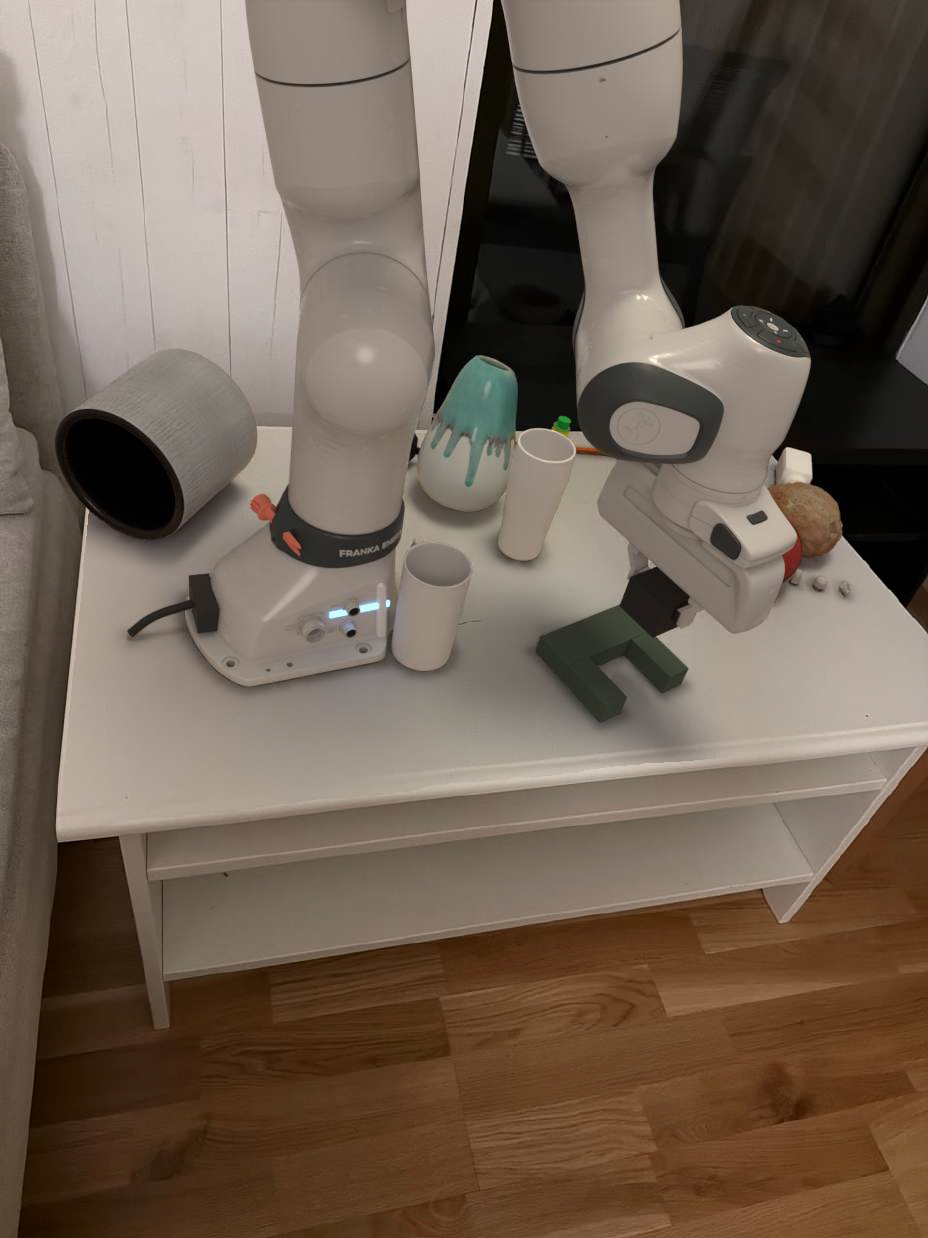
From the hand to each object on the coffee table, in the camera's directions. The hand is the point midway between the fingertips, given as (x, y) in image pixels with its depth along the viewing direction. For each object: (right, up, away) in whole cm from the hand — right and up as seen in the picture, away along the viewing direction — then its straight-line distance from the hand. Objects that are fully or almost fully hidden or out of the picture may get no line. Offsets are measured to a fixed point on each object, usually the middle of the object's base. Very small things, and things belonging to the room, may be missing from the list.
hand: (658, 602), depth 96 cm
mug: (-24, -4, +7) cm, 26 cm away
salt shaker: (+28, +21, +44) cm, 56 cm away
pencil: (-1, +22, +39) cm, 45 cm away
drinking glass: (-13, +7, +21) cm, 26 cm away
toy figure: (-10, +14, +29) cm, 34 cm away
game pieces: (+25, +2, +26) cm, 37 cm away
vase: (-20, +13, +25) cm, 35 cm away
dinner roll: (+22, +11, +25) cm, 35 cm away
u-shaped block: (-4, -7, +9) cm, 12 cm away
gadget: (+16, +5, +26) cm, 31 cm away
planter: (-49, +23, +16) cm, 57 cm away
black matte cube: (0, -1, +1) cm, 2 cm away
